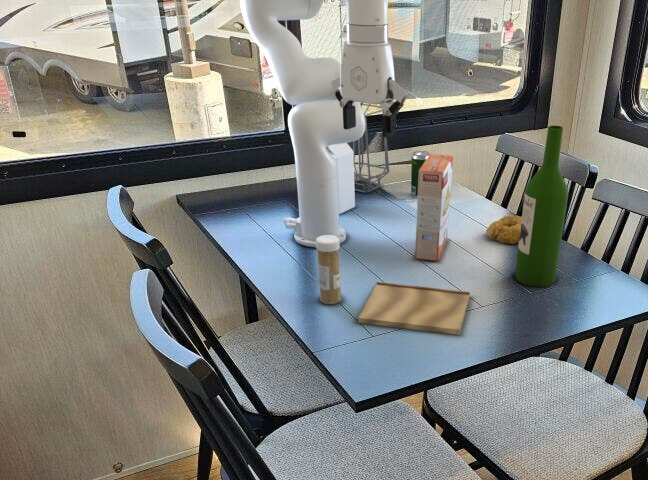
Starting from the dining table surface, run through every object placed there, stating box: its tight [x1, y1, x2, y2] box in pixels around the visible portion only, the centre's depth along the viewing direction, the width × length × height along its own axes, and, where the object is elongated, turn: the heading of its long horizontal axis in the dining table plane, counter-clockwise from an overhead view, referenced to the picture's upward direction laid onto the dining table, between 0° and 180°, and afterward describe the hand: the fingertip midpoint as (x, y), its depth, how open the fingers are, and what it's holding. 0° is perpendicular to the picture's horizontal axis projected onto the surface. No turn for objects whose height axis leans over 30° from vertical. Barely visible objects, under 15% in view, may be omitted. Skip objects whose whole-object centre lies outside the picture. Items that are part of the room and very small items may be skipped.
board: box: [357, 281, 471, 336], centre depth 138 cm, size 20×16×2 cm
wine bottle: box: [514, 125, 569, 288], centre depth 143 cm, size 9×9×32 cm
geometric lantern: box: [352, 77, 397, 194], centre depth 191 cm, size 16×16×35 cm
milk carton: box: [326, 143, 356, 215], centre depth 180 cm, size 7×7×19 cm
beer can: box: [410, 150, 431, 199], centre depth 192 cm, size 5×5×12 cm
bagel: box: [485, 214, 522, 245], centre depth 170 cm, size 10×11×5 cm
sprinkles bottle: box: [315, 235, 343, 305], centre depth 138 cm, size 5×5×13 cm
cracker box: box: [414, 153, 454, 262], centre depth 158 cm, size 14×6×21 cm, turn 168°
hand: (369, 132), depth 134 cm, fingers open, 9 cm apart
